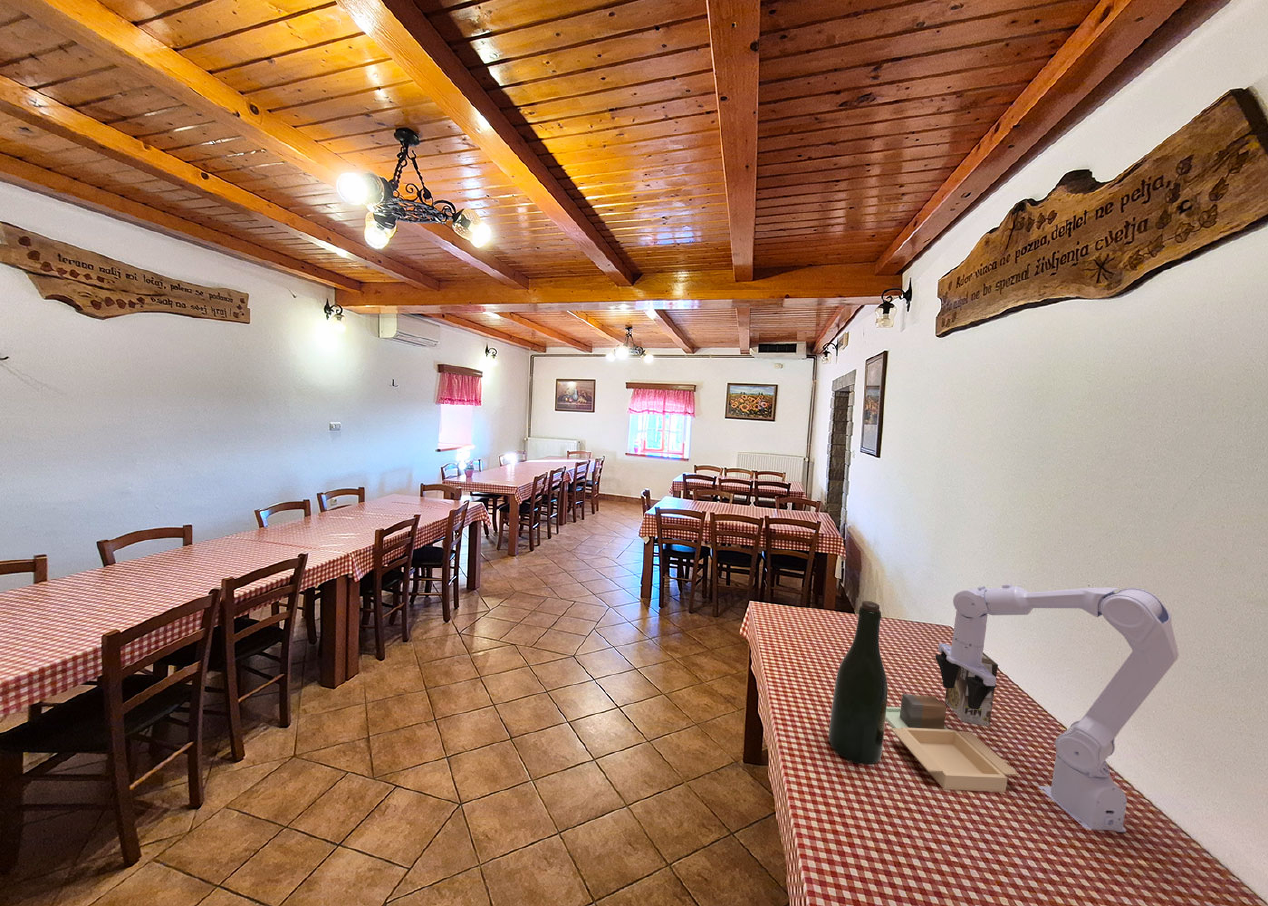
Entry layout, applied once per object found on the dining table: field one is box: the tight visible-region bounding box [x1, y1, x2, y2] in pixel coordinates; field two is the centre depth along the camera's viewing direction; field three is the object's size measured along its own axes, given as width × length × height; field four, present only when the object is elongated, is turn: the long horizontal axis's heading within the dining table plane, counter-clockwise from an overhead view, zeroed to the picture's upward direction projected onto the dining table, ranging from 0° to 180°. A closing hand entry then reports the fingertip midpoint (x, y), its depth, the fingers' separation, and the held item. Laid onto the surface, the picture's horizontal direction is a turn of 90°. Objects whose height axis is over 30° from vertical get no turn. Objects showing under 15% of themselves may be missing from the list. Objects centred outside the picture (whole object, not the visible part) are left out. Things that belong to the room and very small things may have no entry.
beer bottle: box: [828, 600, 889, 765], centre depth 96 cm, size 10×10×33 cm
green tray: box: [885, 706, 950, 730], centre depth 107 cm, size 10×13×1 cm
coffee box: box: [944, 645, 999, 727], centre depth 112 cm, size 9×6×16 cm
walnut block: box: [900, 693, 948, 729], centre depth 106 cm, size 4×8×6 cm, turn 91°
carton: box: [890, 727, 1019, 793], centre depth 94 cm, size 14×19×4 cm
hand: (960, 697), depth 103 cm, fingers open, 7 cm apart
